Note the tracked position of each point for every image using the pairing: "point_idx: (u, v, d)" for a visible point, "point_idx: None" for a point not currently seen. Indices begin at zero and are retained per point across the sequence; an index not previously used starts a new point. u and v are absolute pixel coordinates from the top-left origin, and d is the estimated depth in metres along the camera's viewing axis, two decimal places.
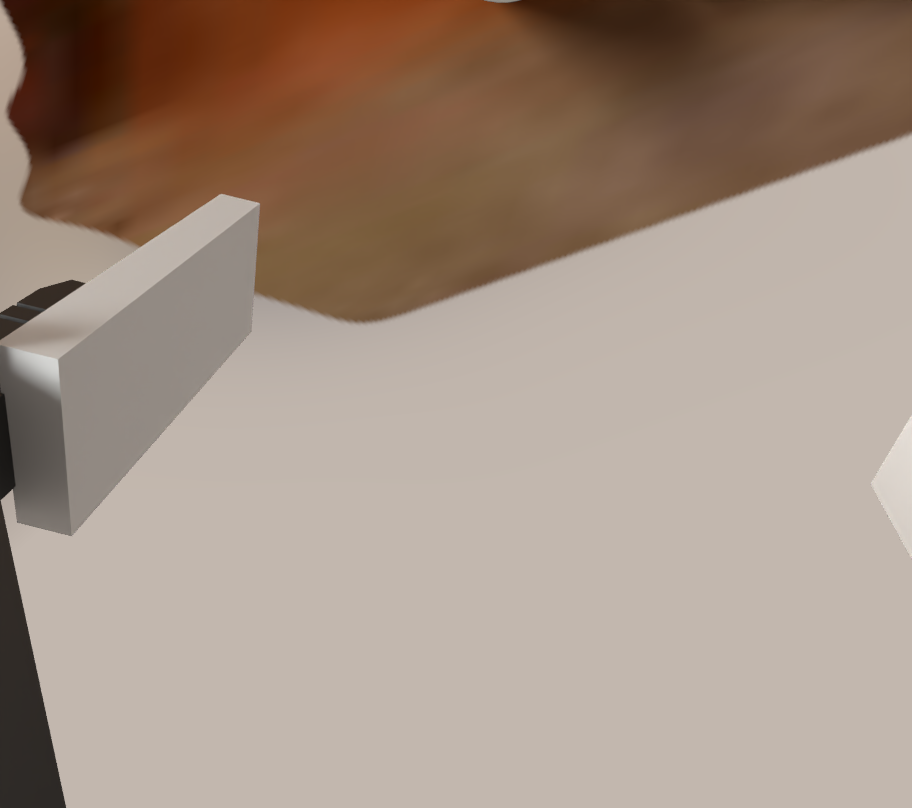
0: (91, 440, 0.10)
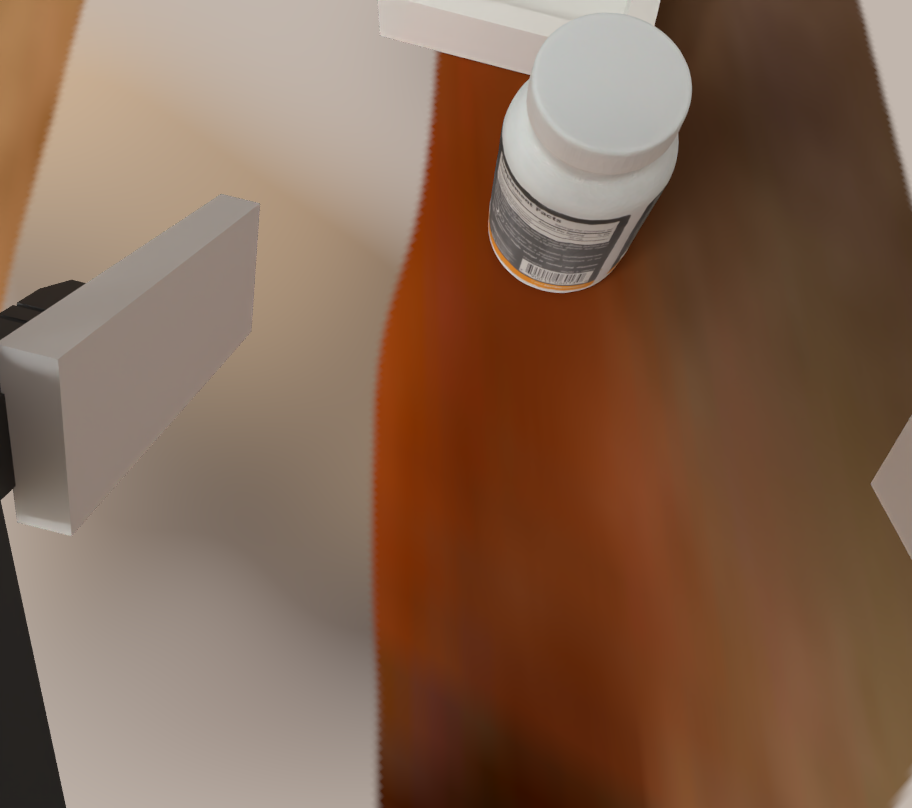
0: (91, 440, 0.10)
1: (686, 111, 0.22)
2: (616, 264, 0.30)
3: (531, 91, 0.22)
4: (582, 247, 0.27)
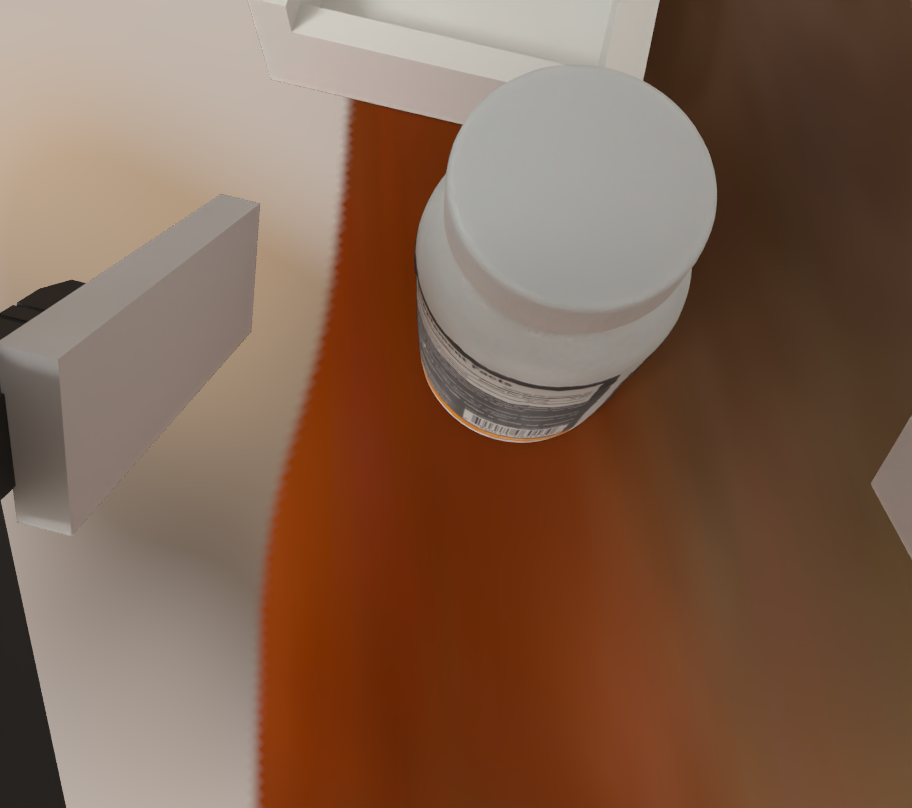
0: (91, 440, 0.10)
1: (709, 230, 0.13)
2: None
3: (446, 201, 0.13)
4: (548, 408, 0.17)
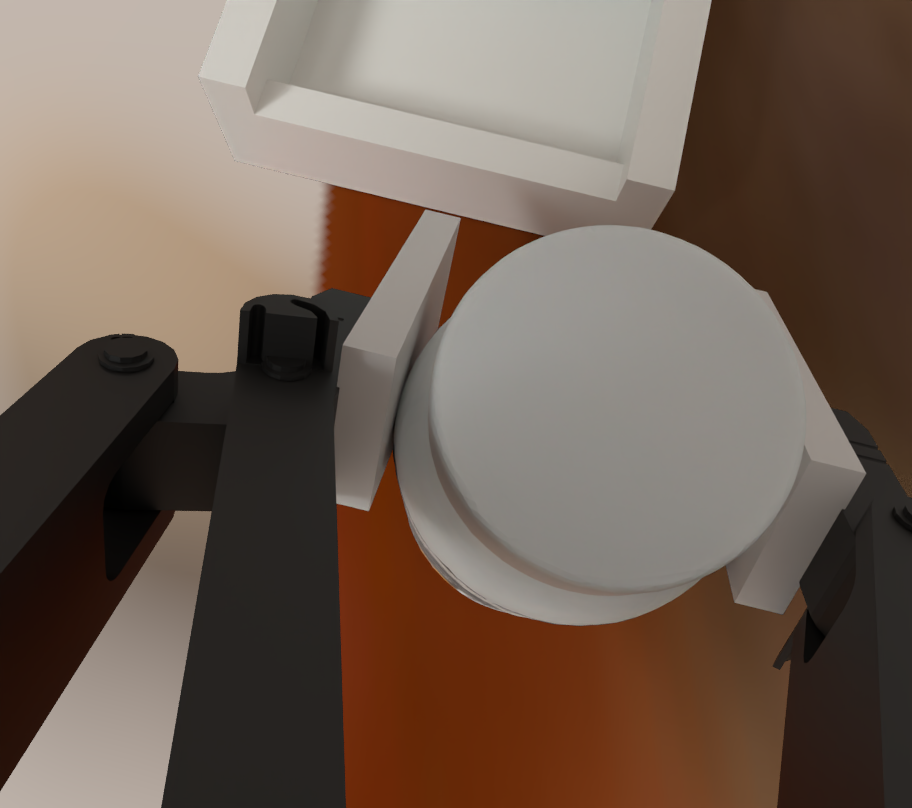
0: (388, 428, 0.12)
1: (797, 469, 0.09)
2: None
3: (430, 423, 0.10)
4: None
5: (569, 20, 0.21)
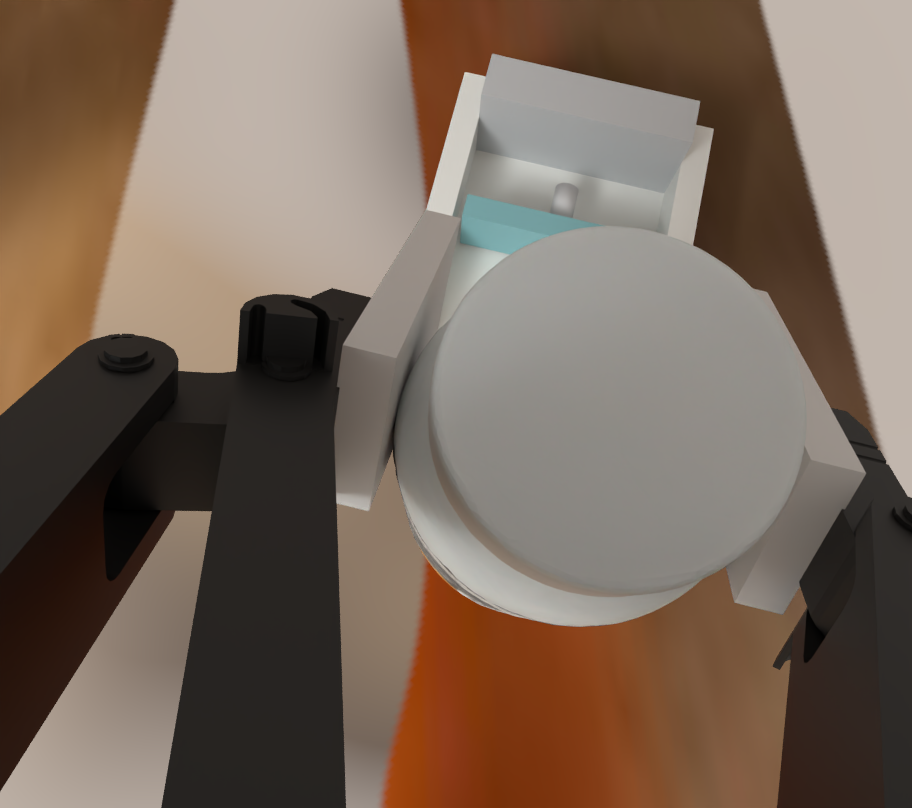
0: (388, 428, 0.12)
1: (797, 470, 0.09)
2: None
3: (430, 424, 0.09)
4: None
5: None
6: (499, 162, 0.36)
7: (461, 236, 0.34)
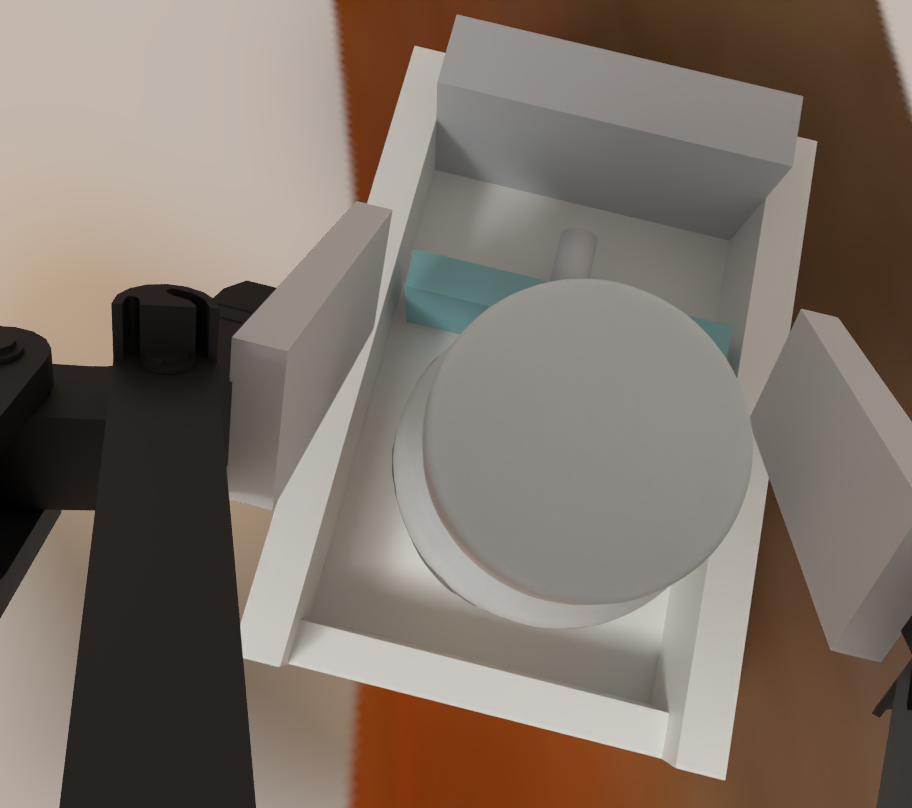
0: (291, 424, 0.11)
1: (744, 495, 0.11)
2: None
3: (425, 456, 0.11)
4: None
5: None
6: (471, 190, 0.23)
7: (407, 313, 0.21)
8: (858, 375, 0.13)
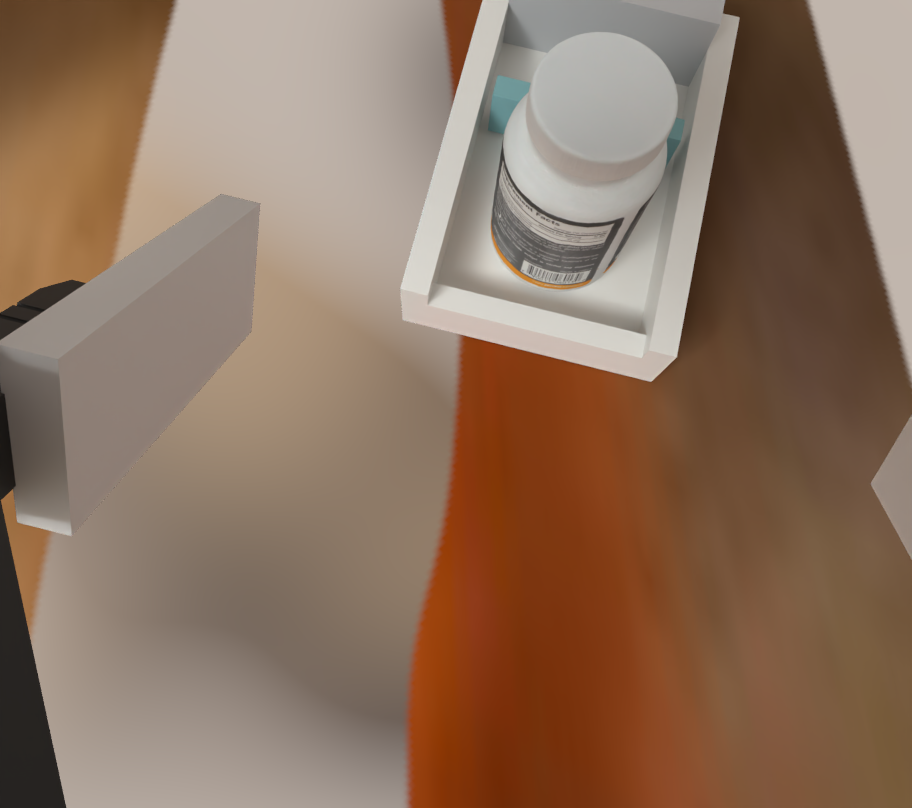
0: (91, 440, 0.10)
1: (673, 121, 0.24)
2: (612, 263, 0.32)
3: (530, 105, 0.24)
4: (579, 248, 0.28)
5: None
6: (526, 54, 0.36)
7: (489, 122, 0.34)
8: None
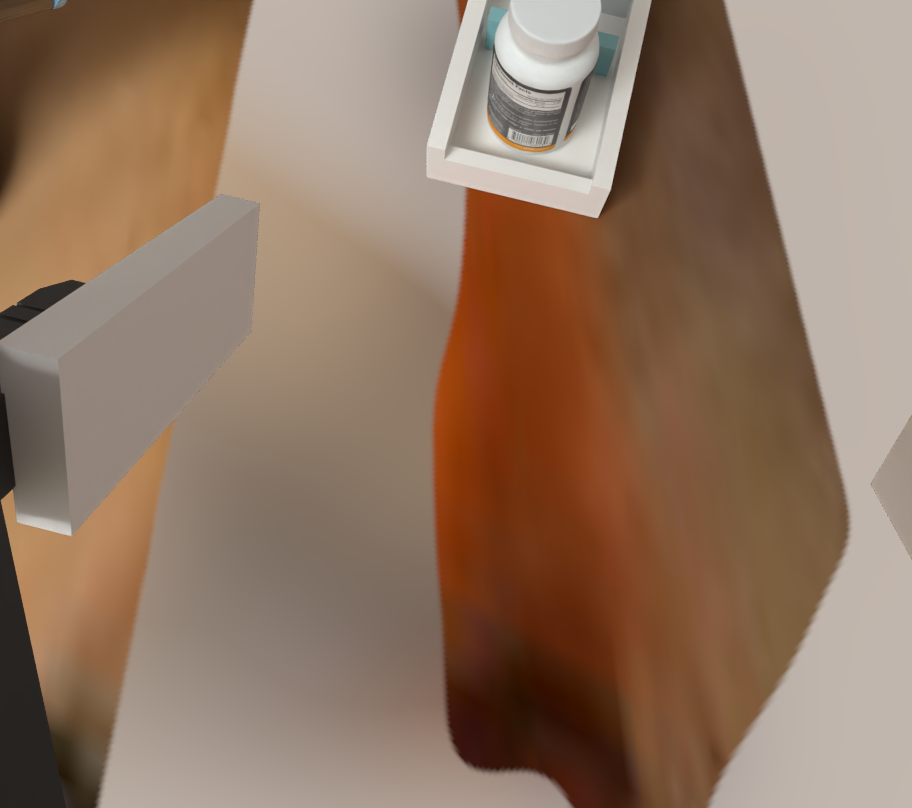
0: (91, 440, 0.10)
1: (598, 19, 0.39)
2: (569, 134, 0.47)
3: (510, 10, 0.39)
4: (544, 112, 0.44)
5: None
6: None
7: (486, 41, 0.49)
8: None
